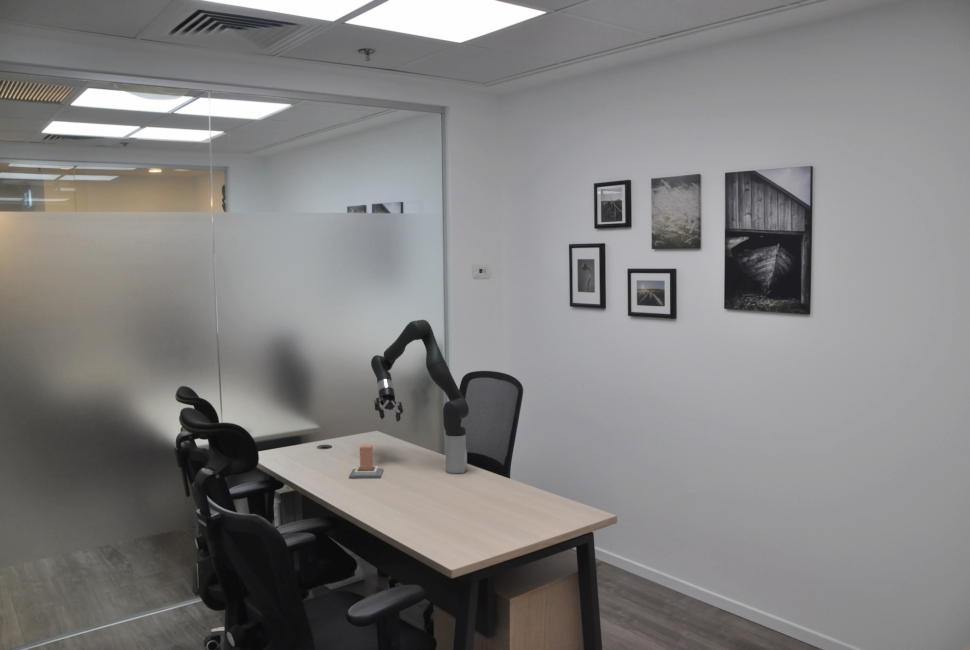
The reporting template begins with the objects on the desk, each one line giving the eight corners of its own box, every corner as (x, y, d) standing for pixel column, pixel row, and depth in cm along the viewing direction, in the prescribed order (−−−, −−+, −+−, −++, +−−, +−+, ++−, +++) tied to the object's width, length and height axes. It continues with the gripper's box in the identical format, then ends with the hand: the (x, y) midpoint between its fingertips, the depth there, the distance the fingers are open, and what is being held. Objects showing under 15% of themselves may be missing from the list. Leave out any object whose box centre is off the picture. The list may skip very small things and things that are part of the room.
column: (372, 470, 333) (372, 444, 332) (371, 473, 328) (371, 447, 327) (361, 470, 333) (361, 444, 332) (360, 473, 328) (359, 447, 327)
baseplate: (383, 470, 336) (383, 465, 336) (380, 478, 324) (380, 472, 324) (353, 471, 336) (353, 465, 336) (349, 478, 324) (349, 472, 324)
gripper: (377, 384, 346) (381, 413, 336) (402, 389, 354) (407, 417, 345) (369, 392, 350) (373, 421, 341) (394, 397, 358) (399, 425, 349)
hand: (390, 419), depth 343 cm, fingers open, 8 cm apart
